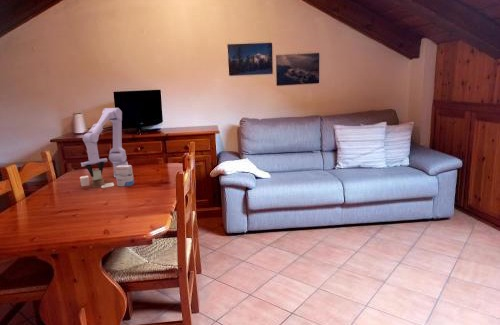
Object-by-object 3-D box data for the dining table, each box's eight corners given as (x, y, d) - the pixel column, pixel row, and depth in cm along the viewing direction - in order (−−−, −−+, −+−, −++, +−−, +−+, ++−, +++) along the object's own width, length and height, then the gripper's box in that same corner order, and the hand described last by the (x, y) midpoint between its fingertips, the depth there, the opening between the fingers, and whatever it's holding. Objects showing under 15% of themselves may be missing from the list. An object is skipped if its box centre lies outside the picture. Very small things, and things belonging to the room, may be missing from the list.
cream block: (89, 183, 211) (88, 175, 210) (89, 185, 207) (88, 177, 206) (81, 184, 210) (80, 176, 208) (81, 186, 206) (80, 178, 204)
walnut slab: (104, 183, 210) (103, 178, 209) (104, 185, 204) (104, 181, 203) (91, 185, 207) (91, 180, 207) (92, 188, 201) (91, 183, 200)
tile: (113, 183, 209) (113, 182, 208) (114, 186, 202) (114, 185, 202) (101, 185, 206) (100, 184, 206) (101, 188, 200) (101, 187, 199)
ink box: (134, 183, 206) (132, 164, 203) (131, 186, 201) (128, 166, 198) (121, 183, 206) (118, 165, 204) (117, 186, 202) (114, 167, 199)
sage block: (99, 177, 208) (97, 169, 207) (102, 178, 205) (100, 170, 204) (91, 178, 205) (90, 170, 204) (94, 180, 202) (93, 172, 201)
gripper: (102, 150, 208) (106, 171, 212) (77, 154, 199) (81, 177, 202) (107, 151, 203) (110, 173, 207) (81, 156, 194) (85, 179, 197)
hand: (96, 175), depth 204 cm, fingers closed on sage block, 4 cm apart
